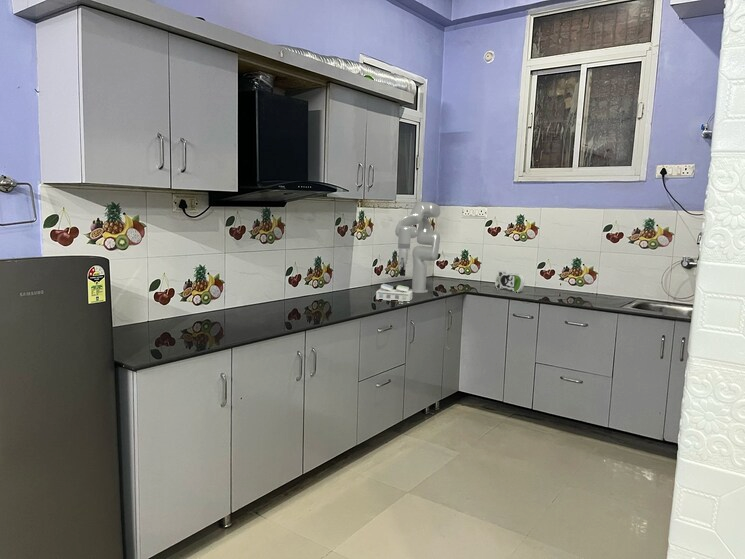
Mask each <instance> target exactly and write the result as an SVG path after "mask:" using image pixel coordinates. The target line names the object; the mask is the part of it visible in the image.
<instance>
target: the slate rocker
mask: <svg viewBox="0 0 745 559" xmlns="http://www.w3.org/2000/svg"><path fill="white" fill-rule="evenodd" d="M380 288H381V289H386V290H390V291H392V290H393V289H394V286H392V285H389V284H386V283H382V284H381V285H380Z"/></svg>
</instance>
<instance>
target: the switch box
mask: <svg viewBox="0 0 745 559" xmlns="http://www.w3.org/2000/svg"><path fill="white" fill-rule="evenodd" d="M375 292H376V293H375V294H376V295H375V300H379V299H383V300H382V301H391V300H398V301H397V302H403V301H410V300H413V293H414V292H413V291H409V290H408V291H407V292H406V291H402V290H397V289H394V288H393V290H392V291H390V290H386V289H383V288H381V287H380V288H379V289H378V290H377V291H375ZM410 302H411V301H410Z"/></svg>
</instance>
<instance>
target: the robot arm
mask: <svg viewBox="0 0 745 559" xmlns="http://www.w3.org/2000/svg"><path fill="white" fill-rule="evenodd" d="M440 214H441V207H440V206H439V205H438V204H437V203H434V202H428V201H427V202H426V201H417V202H415V204H414V205H413V208H412V209H411V212H410V214H408V215H407V216H404V217H402V219H400V220H399V221H398V223H397V225H396V227H395V231H394V232H395V236H396V237H397V239H398V242H397V249H398V257H397V258H398V261H397V265H400V268H399V276H400V277H405V276H406V266H407V264H408V257H409V250H410V249H411V239H415V238H416V242H417V244H418V245H417V246H414V247H413V249H412V282H411V288H409V290H408V291H413V293H416V294H426V293H428V289H426V288H427V287H426V286H427V273H428V272H427V271H428V267H427V264H426V262H429V261H430V262H435V261H437V260H438V257H439V250H440V244H441V235H440V233H439V232H438V231H434V230H433V231H432V229H431V228H432V223H431V221H430V220H429V219H428V218H439V217H440ZM416 225H418V226H417V227H416ZM425 261H426V262H425Z"/></svg>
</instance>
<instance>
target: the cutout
mask: <svg viewBox="0 0 745 559" xmlns="http://www.w3.org/2000/svg"><path fill="white" fill-rule="evenodd" d="M494 284H495V289H496V288H501V289H502V288H504V289H507V290H509V291H510V290H512V292H513V291H517V292H519V293H520V292H522V290H523V289H524V287H525V278H524V276H523V275H522V274H520V273H513V272H512V273H510V272H509V273H507V272H506V271H505V270H499V271H498V273H497V274H496V276H495V281H494Z"/></svg>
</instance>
